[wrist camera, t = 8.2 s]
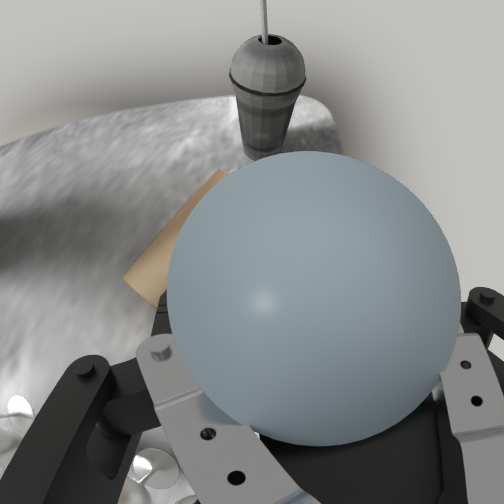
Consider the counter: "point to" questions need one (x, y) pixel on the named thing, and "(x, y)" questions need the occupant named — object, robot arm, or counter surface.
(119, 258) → the counter surface
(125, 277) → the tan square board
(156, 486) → the goblet set
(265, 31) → the beverage cup
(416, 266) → the pale blue domed cylinder
